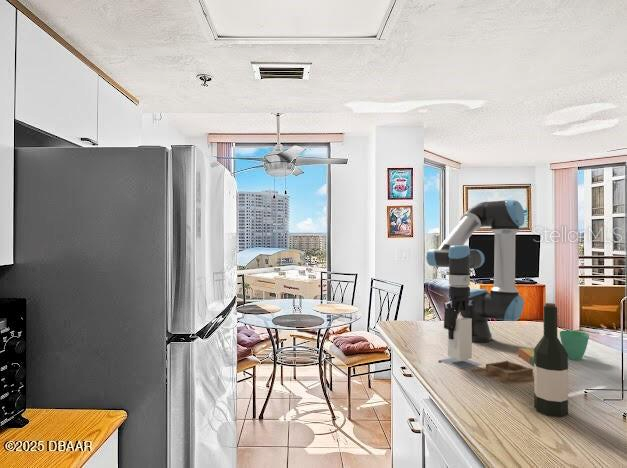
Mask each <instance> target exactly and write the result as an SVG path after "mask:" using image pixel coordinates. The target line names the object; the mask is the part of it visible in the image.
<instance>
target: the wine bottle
mask: <svg viewBox="0 0 627 468" xmlns="http://www.w3.org/2000/svg"><path fill="white" fill-rule="evenodd" d="M533 349H534V367H533V372H534V382H533V383H534V385H533V389H534V390H533V391H534V392H533V393H534V397H533V398H534V403H533V404H534V405H533V406H534V408H535V411H536V412H537V413H540V414H542V415H545V416H548V417H554V418H555V417H556V418H563V417H566V416H568V415H569V367H568V366H569V359H568V353H567V352H566V350H565V349H564V347H563V345H562V342H561V340H560V339H559V337H558V307H557V306H556V303H551V302H545V304H544V306H543V336H542V337H541V339H540V340H539V341H538V343H537V344H536V345H535V346H534V348H533Z"/></svg>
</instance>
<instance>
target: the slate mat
mask: <svg viewBox="0 0 627 468" xmlns="http://www.w3.org/2000/svg"><path fill="white" fill-rule="evenodd" d="M438 363H439V364H441V363H444V364H446V365H449V366H452V367H453V368H456V369H460V370H461V369H467V368H471V367H476V366H481V365H483V364H481V363H478V362H476V361H473V360H471V359H465V360H457V359H455V358H452V357H449V358H444V359H438Z"/></svg>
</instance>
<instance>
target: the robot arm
mask: <svg viewBox="0 0 627 468" xmlns="http://www.w3.org/2000/svg"><path fill="white" fill-rule="evenodd" d="M525 220H526V219H525V212H524V208H523V206H522V204H521V202H519V201H518V200H515V199H514V200H509V199H507V200H496V201H495V200H494V201H493V200H492V201H483V202H480V203H477V204H475V205H474V206H472V207H470V208H468V210H466V211H465V212H464V213H463V214H462V215H461V217H460V219H459V223H458V224H456V226H455V227H454V228H453V230H451V232H450V233H449V234H448V235H447V237H445V239H444V240H443V242H441V244H439V246H438V247H437V248H435V247H434V248H431V249H428V251H427V253H426V256H425V257H426V262H427V264H428V266H430V267H436V268H448V284H449V286H448V295H449V296H450V298H449V301H447V302H444V303H443V307H444V311H443V312H444V318H443V328H444V329H445V330H447V332H448V331H449V339H450V347H452V348H454V349H456V331H454V330H455V326H456V319H457V317H458V316H459V314H461V315H460V316H462V317H466V318H471V319H472V343H473V342H474V343H487V342H491V341H492V340H493V336H492V332H491V330H490V326H489V324H488V323H489V321H488V320H489V319H491V320H492V319H493V320H499V321H505V322H517V321H518V320H519V319H520V318H521V315H523V311H524V304H525V302H524V298H523V296H522V295H519V292H520V291H519V290H518V289H517V288H516V234H517V233H518V232H519V231H520V227H522V226H524V224H525ZM483 227H484V228H485V227H490V231H491V232H492V233H493V234H494V254H493V255H494V259H493V260H494V262H493V263H494V267H493V273H494V275H493V287H491V288H490V289H489V290H490V292H488V289H485V288H477V289H476V288H475V289H471V288H470V285H471V283H470V282H471V279H470V277H471V271H470V269H471V270H472V269H475V270H476V269H478V268H480V267H482V266H483V264H484V263H485V255H484V253H483V251H481V250H479V249H475V248H474V249H473V248H472V249H471V248H470V246H469V245H465V244H466V242H467V241H468V240H469V238H470V237H471V236H472V235H473V234H474V232H477V231H478V230H479V229H481V228H483ZM451 326H452V327H451Z"/></svg>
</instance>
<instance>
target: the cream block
mask: <svg viewBox="0 0 627 468" xmlns="http://www.w3.org/2000/svg"><path fill="white" fill-rule="evenodd" d="M451 327H452V326H451ZM454 331H456V349H454V348H452V347H450V339H449V331H448V330H447V338H448V339H447V347H448V348H447V350H448V352H447V356H448V357H449V358H455V359H457V360H465V359H468V360H471V359H472V358H473V345H472V344H473V342H472V319H471V318H466V317H462V316H461V315H458V317H457V319H456V326H455V330H454Z"/></svg>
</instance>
